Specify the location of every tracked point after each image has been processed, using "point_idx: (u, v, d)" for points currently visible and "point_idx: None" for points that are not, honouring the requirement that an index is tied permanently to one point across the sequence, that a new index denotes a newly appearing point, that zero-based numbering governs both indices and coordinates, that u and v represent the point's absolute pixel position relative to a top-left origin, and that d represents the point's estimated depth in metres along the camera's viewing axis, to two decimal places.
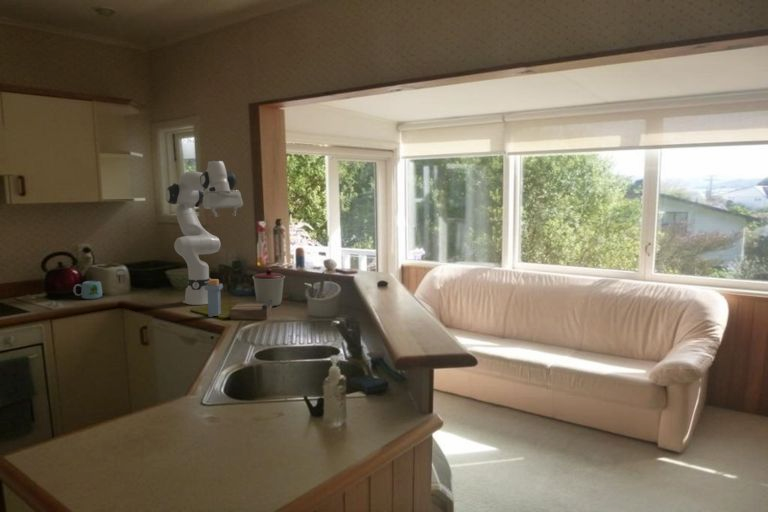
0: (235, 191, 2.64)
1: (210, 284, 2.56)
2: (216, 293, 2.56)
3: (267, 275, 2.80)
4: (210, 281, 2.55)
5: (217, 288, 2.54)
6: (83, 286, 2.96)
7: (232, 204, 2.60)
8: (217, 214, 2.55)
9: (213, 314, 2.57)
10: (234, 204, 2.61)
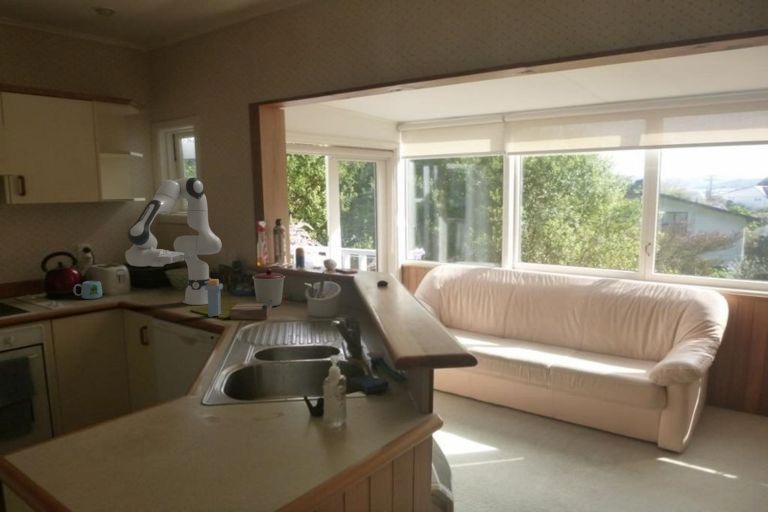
0: None
1: (210, 284, 2.56)
2: (216, 293, 2.56)
3: (267, 275, 2.80)
4: (210, 281, 2.55)
5: (217, 288, 2.54)
6: (83, 286, 2.96)
7: None
8: (188, 258, 2.60)
9: (213, 314, 2.57)
10: (172, 262, 2.51)
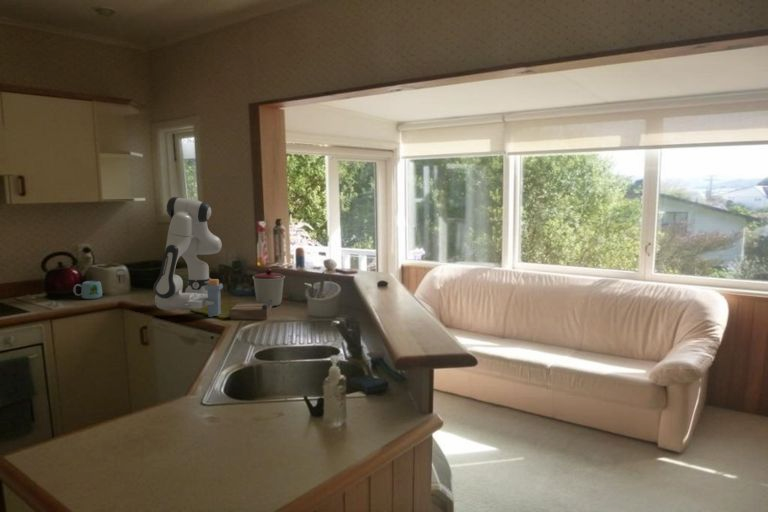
0: None
1: (210, 284, 2.56)
2: (216, 293, 2.56)
3: (267, 275, 2.80)
4: (210, 281, 2.55)
5: (217, 288, 2.54)
6: (83, 286, 2.96)
7: None
8: None
9: (213, 314, 2.57)
10: (202, 306, 2.54)
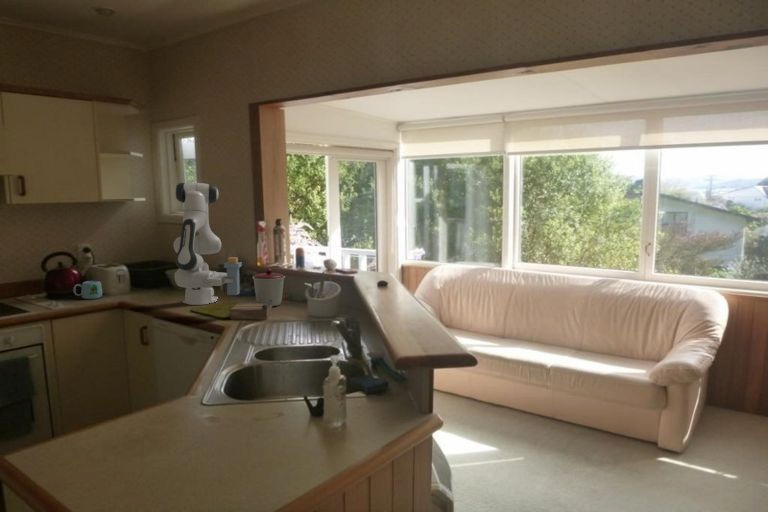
0: None
1: (229, 262, 2.54)
2: (235, 271, 2.54)
3: (267, 275, 2.80)
4: (229, 258, 2.54)
5: (236, 266, 2.53)
6: (83, 286, 2.96)
7: None
8: None
9: (232, 292, 2.56)
10: (221, 284, 2.52)
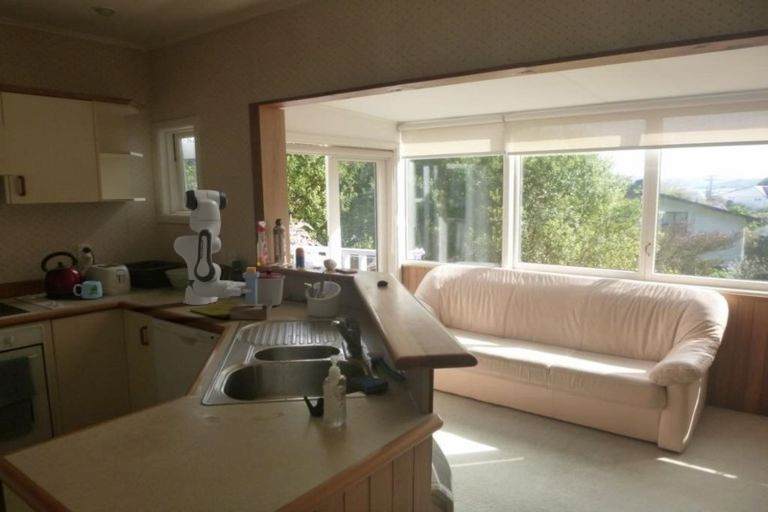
0: None
1: (248, 272, 2.56)
2: (254, 281, 2.56)
3: (267, 275, 2.80)
4: (248, 268, 2.56)
5: (255, 276, 2.55)
6: (83, 286, 2.96)
7: None
8: None
9: (250, 302, 2.57)
10: (240, 294, 2.54)
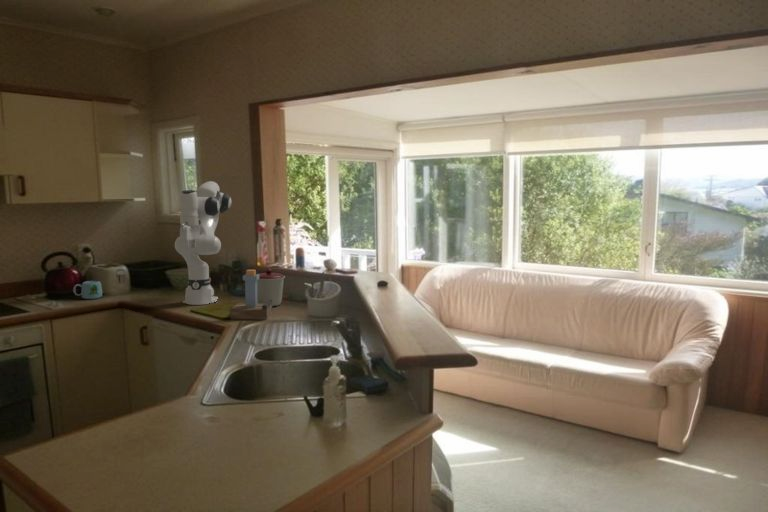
0: None
1: (248, 274, 2.56)
2: (254, 283, 2.56)
3: (267, 275, 2.80)
4: (248, 271, 2.56)
5: (255, 278, 2.55)
6: (83, 286, 2.96)
7: None
8: (191, 246, 2.65)
9: (250, 304, 2.57)
10: None
